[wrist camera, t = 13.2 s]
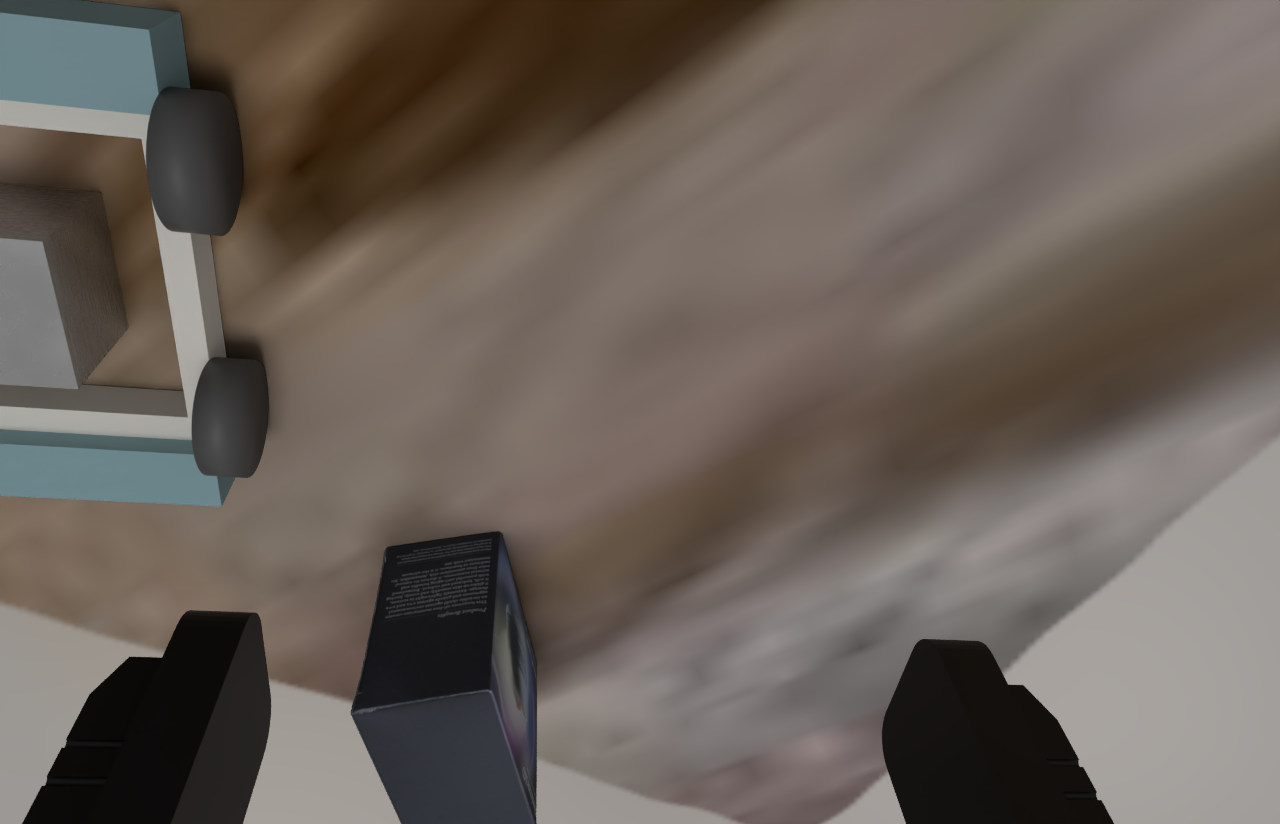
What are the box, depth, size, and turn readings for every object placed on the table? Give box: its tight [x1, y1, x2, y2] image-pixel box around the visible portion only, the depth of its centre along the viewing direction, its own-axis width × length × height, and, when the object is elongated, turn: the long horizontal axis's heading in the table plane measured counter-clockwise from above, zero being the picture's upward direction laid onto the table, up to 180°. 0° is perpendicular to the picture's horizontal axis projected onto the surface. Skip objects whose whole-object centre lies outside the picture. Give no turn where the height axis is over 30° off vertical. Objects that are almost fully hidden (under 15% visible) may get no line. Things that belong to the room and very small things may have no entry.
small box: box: [351, 532, 537, 824], centre depth 45 cm, size 11×6×10 cm, turn 7°
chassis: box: [0, 0, 269, 507], centre depth 35 cm, size 20×16×5 cm
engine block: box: [0, 183, 129, 389], centre depth 35 cm, size 6×4×5 cm
